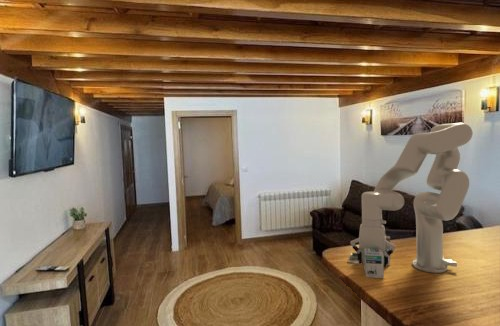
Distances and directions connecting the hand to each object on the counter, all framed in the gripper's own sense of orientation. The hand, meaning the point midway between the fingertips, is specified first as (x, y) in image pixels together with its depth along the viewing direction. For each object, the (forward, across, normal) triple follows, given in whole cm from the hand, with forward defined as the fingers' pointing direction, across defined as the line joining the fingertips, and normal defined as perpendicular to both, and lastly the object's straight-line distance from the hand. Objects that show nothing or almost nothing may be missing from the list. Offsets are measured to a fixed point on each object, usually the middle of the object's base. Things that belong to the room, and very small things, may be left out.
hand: (372, 263), depth 123 cm
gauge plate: (+3, +2, -9) cm, 10 cm away
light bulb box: (+4, 0, 0) cm, 4 cm away
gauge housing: (+4, +3, -13) cm, 13 cm away
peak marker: (+4, +9, -14) cm, 17 cm away
